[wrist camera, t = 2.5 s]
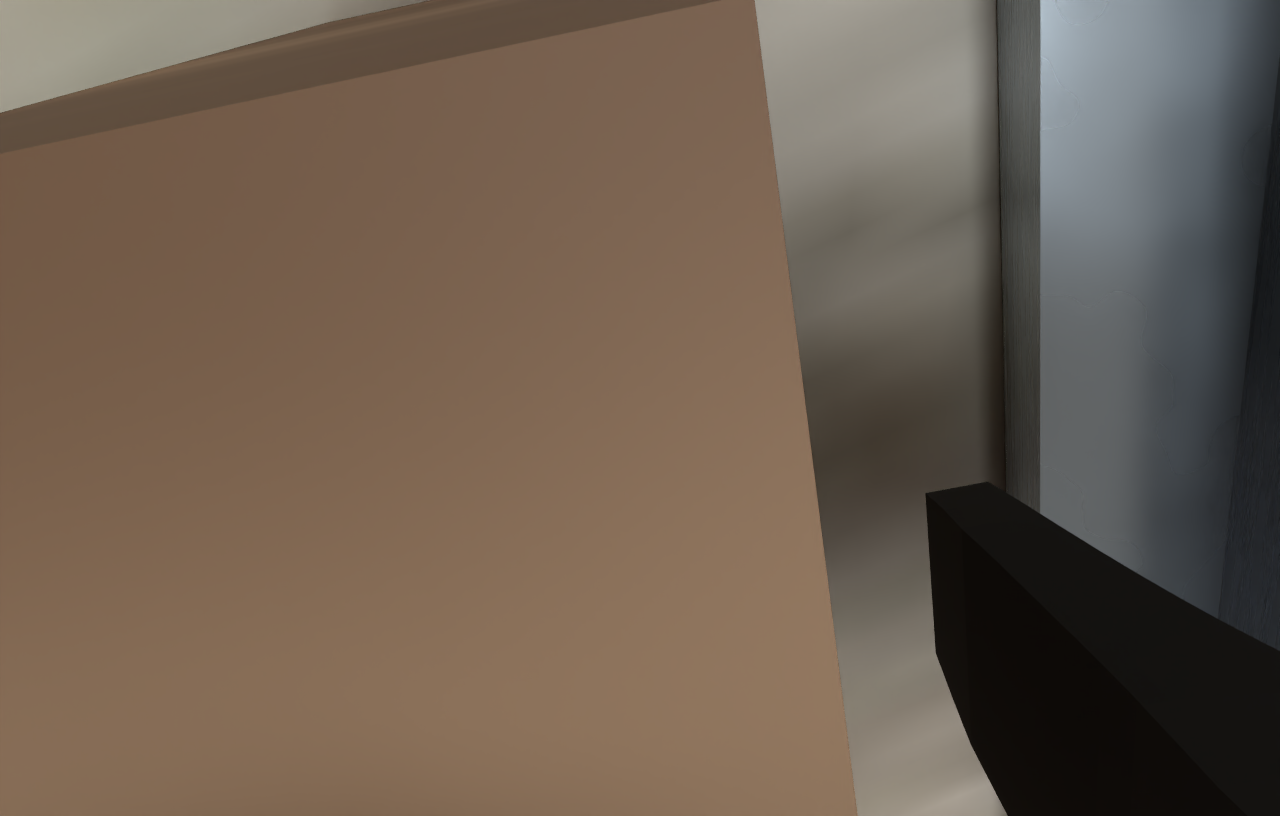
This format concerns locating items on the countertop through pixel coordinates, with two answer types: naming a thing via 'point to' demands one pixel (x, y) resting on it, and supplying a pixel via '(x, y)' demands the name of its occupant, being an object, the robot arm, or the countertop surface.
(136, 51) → the countertop surface
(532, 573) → the door panel
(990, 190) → the countertop surface
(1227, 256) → the track
